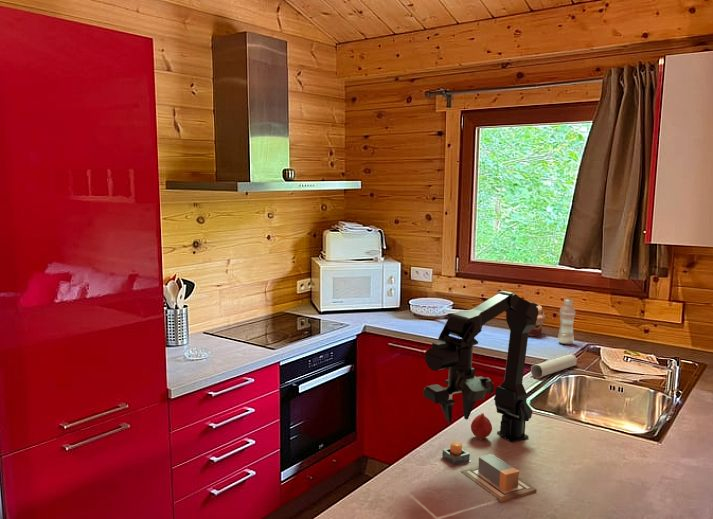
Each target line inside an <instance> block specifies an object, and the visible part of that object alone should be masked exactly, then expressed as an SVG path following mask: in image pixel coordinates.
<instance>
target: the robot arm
mask: <svg viewBox="0 0 713 519" xmlns="http://www.w3.org/2000/svg"><path fill="white" fill-rule="evenodd" d="M536 304H537V303H535V302H531V301H528V300H526V299H524V298H522V297H520V296H519V295H517V294H516V293H515V292H510V291H505V290H501V291H498V292H497V293H496V294H495V295H494V296H492V297H490V298H489V299H487V300H485V301H483V302H482V303H480V304H478V305H477V306H475V307H473V308H471V309H467V310H458V311H456V312H454V313H453V312H452V314H450V315H449V316H448V319H447V320H446V323H444V324H445V325H444V326H443V328H442V330H441V332H440V334H439V336H438V341H439V342H432V343H431V347H430V348H428V349H427V350H426V353H425V356H424V360H425V363H426V365H427V367H428V368H429V369H430V371H433V372H439V371H440V370H444V369H446V370H447V371H448V379H445V381H444V382H445V385H446V387H443V386H441V385H440V384H438V383H436V384H431V385H426V386H425V387H424V388H423V392H422V393H423V394H422V395H423V397H424V398H426V399H427V400H429V401H431V402H432V403H434V404H439V405H440V407H441V410H442V412H443V415H444V418H445V419H446V422H447V423H448V424H451V423H452V419H453V417H452V416H453V405H455V403H456V400H454V399H453V395H455V394H456V395H457V394H461V396H462V397H461V398H462V412H463V418H464V419H465V420H469V417H470V415H471V413H472V410H473V408H474V406H475V404H476V402H477V401H479V400H480V401H481V400H484V398H485V396H486V395H488V394H493V393H494V392H495V393H494V398H493V400H494V405H495V408H496V412H497V413H498V414H501V420H500V426H499V429H500V430H498V431H497V432H496V434H497V435H499V436H501V437H503V439H506V440H507V441H509V442H512V443H513V442H517V441H522V440H525V439H529V435H527V434H526V422H529V421H530V419H531V418H532V416H533V410H532V408H531V407H530V406H529V404H528V402H527V401H528V400H527V397H528V396H527V395H528V393H527V392H526V389H525V386H524V384H523V382H524V381H523V379H524V373H525V372H524V371H525V365H526V364H525V363H526V356H527V347H528V341H529V335H528V334H529V332H530V331H531V330H532V328H533V327H534V326H535V324H536V320H537V317H538V312H539V311H538V307H537V306H536ZM504 312H505V321H506V324H507V326H508V329H509V331H510V332H509V340H508V346H507V356H506V364H505V372H504V380H503V381H502V382H501V384H500V385H498V386H496V387H495V386H494V382H492V380H491V379H490V377H483V376H476V369H475V368H474V367H472V366H473V348H474V346H476V345H478V344H479V341H478V340H477V339H476V338H475V337H477V336H478V335H479V334H480V333H481V332H482V329H483V326H484V325H485V324H487V323H489V322H491V320H493V319H494V318H497V317H498V316H499V315H501V314H503V313H504Z"/></svg>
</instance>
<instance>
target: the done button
mask: <svg viewBox="0 0 713 519" xmlns="http://www.w3.org/2000/svg"><path fill="white" fill-rule="evenodd" d="M449 448H450V453H451V454H452V455H454V456H457V455H461V454H462V449H463V443H461V442H456V441H454V442H451V443H450V447H449Z"/></svg>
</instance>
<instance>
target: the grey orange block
mask: <svg viewBox="0 0 713 519" xmlns="http://www.w3.org/2000/svg"><path fill="white" fill-rule="evenodd" d="M478 466H479V467H478ZM478 466H477V467H478V472H479V473H480V474H482V475H483V476H485V477H486V478H487V479H489V480H490V481H492V482H493V483H495V484H496V485H497V486H499V487H500V488H501V489H503V490H504V491H507V490H510V489H514V488H517V487H518V482H519V478H520V470H518V469H517V468H516V467H513V466H512V465H510V464H508V463H507V462H505V461H503V460H502V459H500V458H499V457H497V456H496V455H494V454H492V453H490V454H485V455H482V456H479V457H478Z"/></svg>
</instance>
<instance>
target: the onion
mask: <svg viewBox="0 0 713 519" xmlns="http://www.w3.org/2000/svg"><path fill="white" fill-rule="evenodd" d="M470 430H471V433H472V434H473V435H474V436H475V437H476V438H477V439H478V440H485V439H486V438H487V437H488V436H490V434H491V433H492V432H493V426H492V423H491V421H490V419H489V418H488V417H487V416H486V415H485V413H483V412H482V413H480V414H479V415H477V416H475V418H474V419H473V420H472V421H471V423H470Z"/></svg>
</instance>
